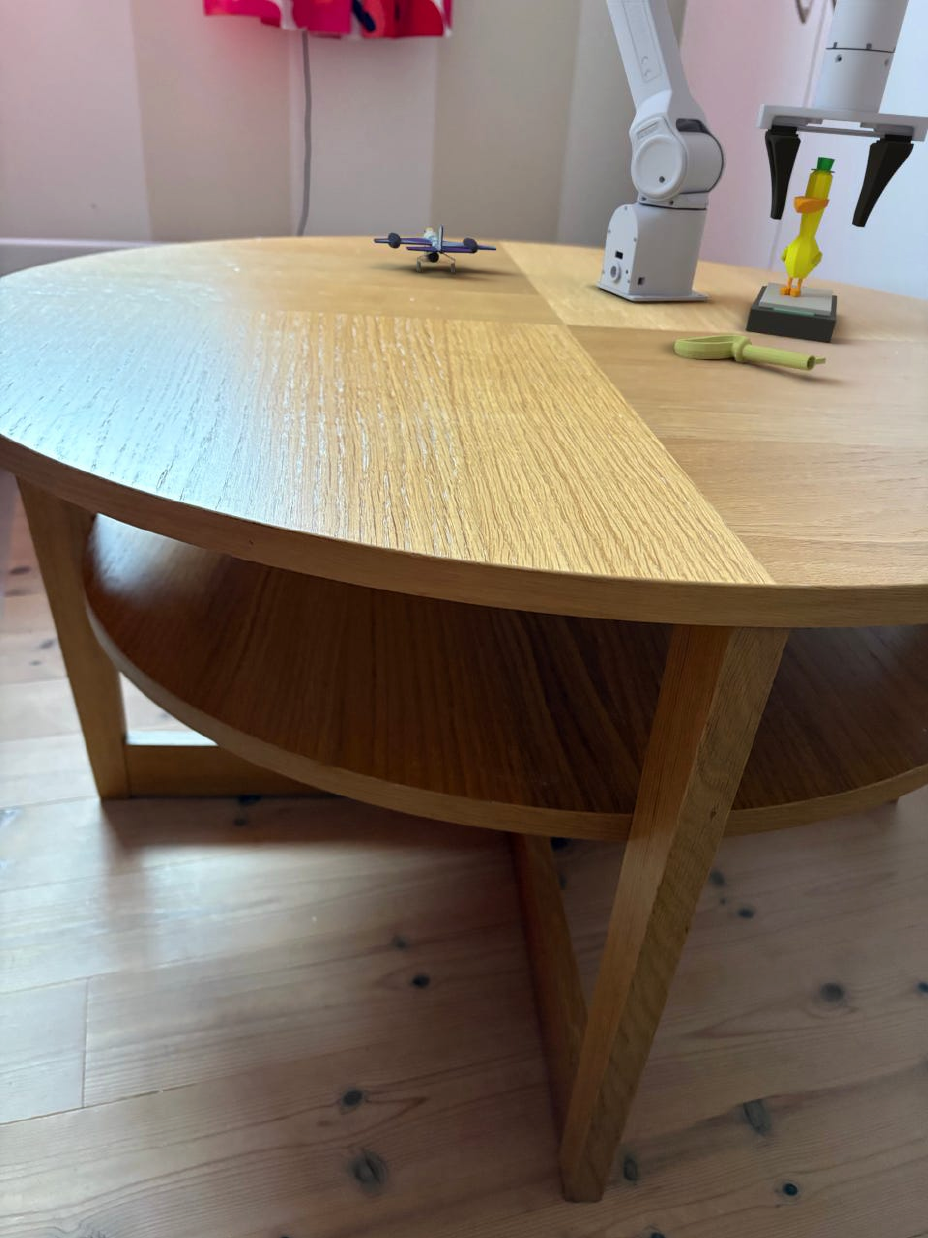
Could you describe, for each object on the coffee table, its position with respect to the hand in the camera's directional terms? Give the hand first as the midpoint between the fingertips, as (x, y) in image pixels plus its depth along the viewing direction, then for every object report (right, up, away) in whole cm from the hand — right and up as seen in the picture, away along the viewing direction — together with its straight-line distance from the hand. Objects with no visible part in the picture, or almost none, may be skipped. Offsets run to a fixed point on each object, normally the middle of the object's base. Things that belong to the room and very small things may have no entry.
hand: (816, 222), depth 84 cm
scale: (-1, -8, +4) cm, 9 cm away
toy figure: (-1, -6, +3) cm, 7 cm away
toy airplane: (-37, +2, +17) cm, 41 cm away
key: (-11, -17, -11) cm, 22 cm away
